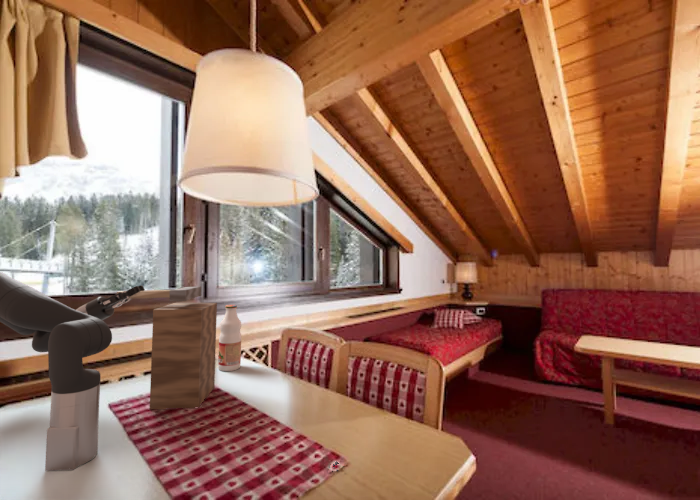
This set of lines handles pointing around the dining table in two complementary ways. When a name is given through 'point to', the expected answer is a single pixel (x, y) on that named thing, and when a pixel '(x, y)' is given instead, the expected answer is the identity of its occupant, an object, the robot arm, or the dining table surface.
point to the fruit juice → (230, 341)
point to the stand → (183, 355)
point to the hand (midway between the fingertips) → (140, 288)
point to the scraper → (170, 294)
